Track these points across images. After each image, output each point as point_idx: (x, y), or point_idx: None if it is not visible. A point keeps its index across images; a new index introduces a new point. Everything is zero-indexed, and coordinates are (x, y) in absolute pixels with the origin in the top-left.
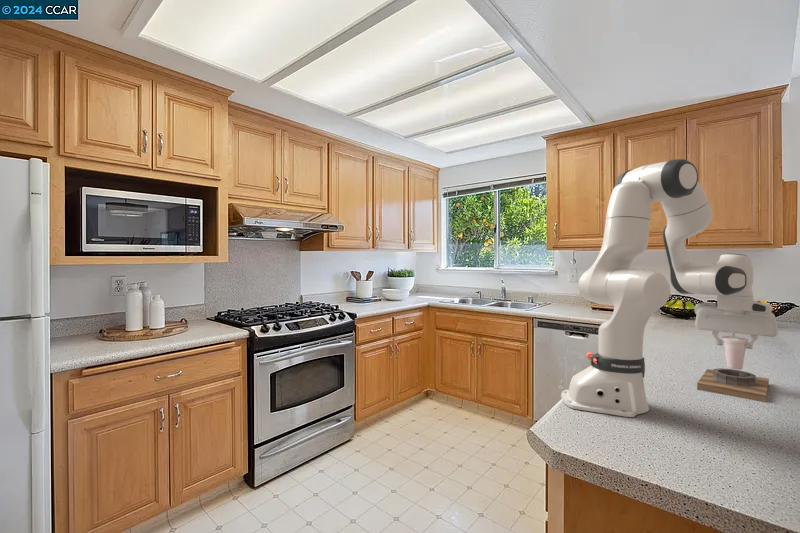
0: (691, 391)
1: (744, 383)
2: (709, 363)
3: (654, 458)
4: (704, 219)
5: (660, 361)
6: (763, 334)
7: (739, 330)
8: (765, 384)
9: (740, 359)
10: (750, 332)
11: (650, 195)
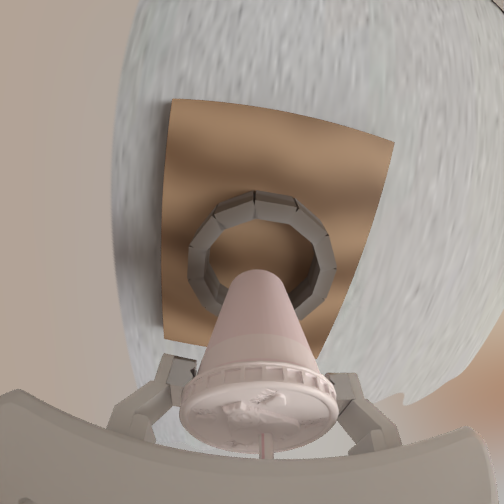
0: (400, 103)
1: (230, 200)
2: None
3: None
4: None
5: (390, 388)
6: (57, 418)
7: (225, 481)
8: (166, 264)
9: (234, 300)
10: (136, 455)
11: None
